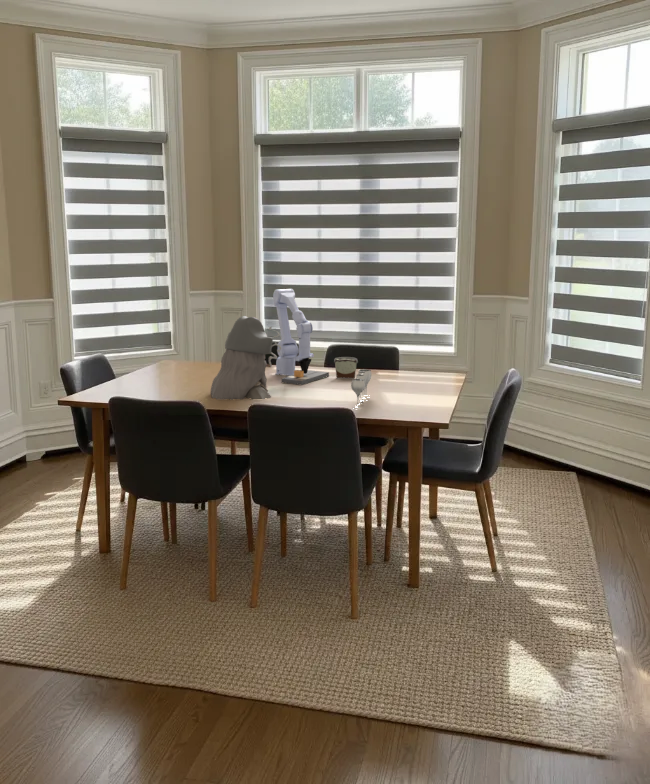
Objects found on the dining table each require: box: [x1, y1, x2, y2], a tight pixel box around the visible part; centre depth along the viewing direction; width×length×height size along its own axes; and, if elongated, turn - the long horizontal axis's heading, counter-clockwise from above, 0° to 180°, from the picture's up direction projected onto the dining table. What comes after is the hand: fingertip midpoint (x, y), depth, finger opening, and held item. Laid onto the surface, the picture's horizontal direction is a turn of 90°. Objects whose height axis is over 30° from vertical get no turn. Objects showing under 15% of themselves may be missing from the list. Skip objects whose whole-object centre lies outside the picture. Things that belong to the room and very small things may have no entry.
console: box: [281, 369, 330, 386], centre depth 369 cm, size 12×26×2 cm, turn 150°
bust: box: [210, 315, 281, 401], centre depth 334 cm, size 34×34×35 cm
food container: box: [333, 356, 359, 379], centre depth 374 cm, size 12×6×10 cm, turn 84°
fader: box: [294, 369, 304, 377], centre depth 363 cm, size 4×2×3 cm, turn 60°
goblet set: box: [350, 368, 372, 410], centre depth 317 cm, size 28×6×13 cm, turn 168°
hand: (304, 373), depth 368 cm, fingers closed
